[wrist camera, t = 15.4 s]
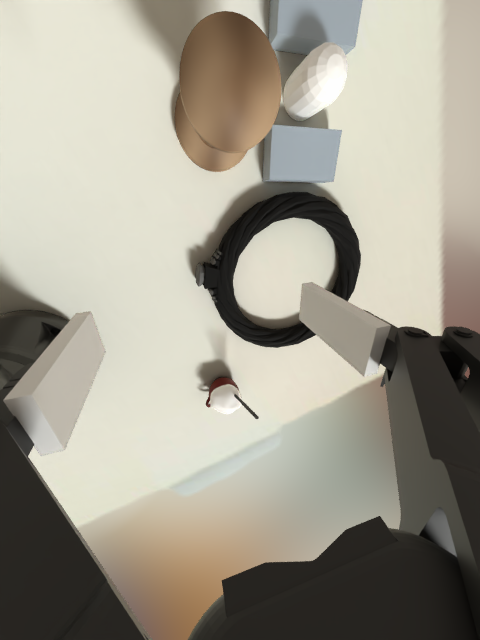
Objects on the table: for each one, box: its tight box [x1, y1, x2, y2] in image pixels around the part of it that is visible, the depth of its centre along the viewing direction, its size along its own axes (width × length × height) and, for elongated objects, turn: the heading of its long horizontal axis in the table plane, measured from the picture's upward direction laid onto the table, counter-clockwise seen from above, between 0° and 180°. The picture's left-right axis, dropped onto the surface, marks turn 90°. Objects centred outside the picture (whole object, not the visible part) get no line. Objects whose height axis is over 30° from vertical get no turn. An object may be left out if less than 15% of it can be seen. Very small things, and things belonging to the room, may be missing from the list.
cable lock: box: [196, 192, 361, 348], centre depth 41 cm, size 28×4×30 cm
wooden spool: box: [175, 11, 281, 172], centre depth 26 cm, size 10×10×12 cm
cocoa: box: [206, 377, 258, 419], centre depth 45 cm, size 10×6×12 cm, turn 101°
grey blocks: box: [263, 0, 362, 183], centre depth 30 cm, size 10×20×3 cm, turn 0°
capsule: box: [283, 42, 348, 121], centre depth 28 cm, size 5×5×8 cm
